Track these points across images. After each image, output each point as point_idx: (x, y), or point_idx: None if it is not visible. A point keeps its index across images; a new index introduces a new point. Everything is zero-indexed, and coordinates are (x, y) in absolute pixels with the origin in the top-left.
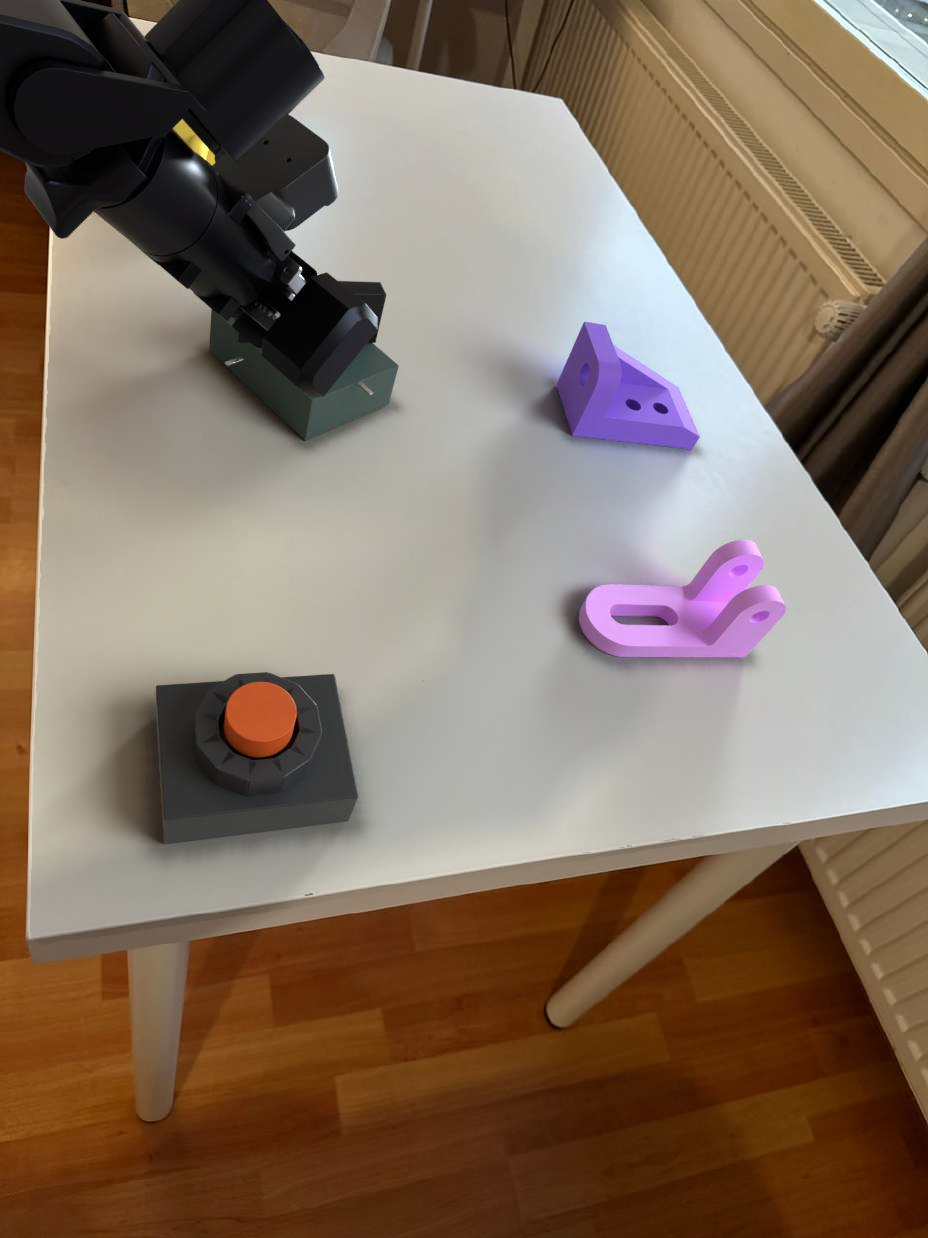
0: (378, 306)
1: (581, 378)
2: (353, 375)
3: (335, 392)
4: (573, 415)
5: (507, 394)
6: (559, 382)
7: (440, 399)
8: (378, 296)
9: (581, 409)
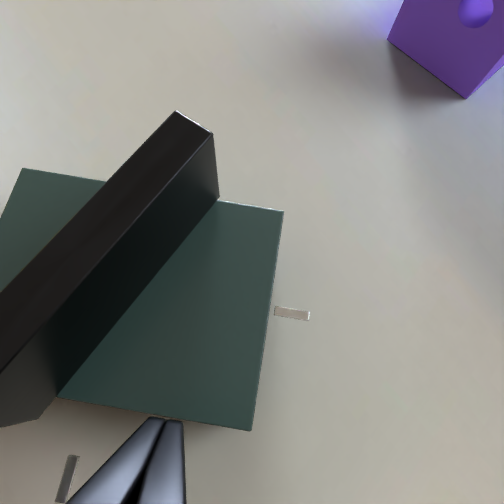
0: (208, 161)
1: (461, 17)
2: (252, 300)
3: (260, 366)
4: (458, 73)
5: (361, 99)
6: (394, 35)
7: (313, 175)
8: (202, 150)
9: (484, 63)
